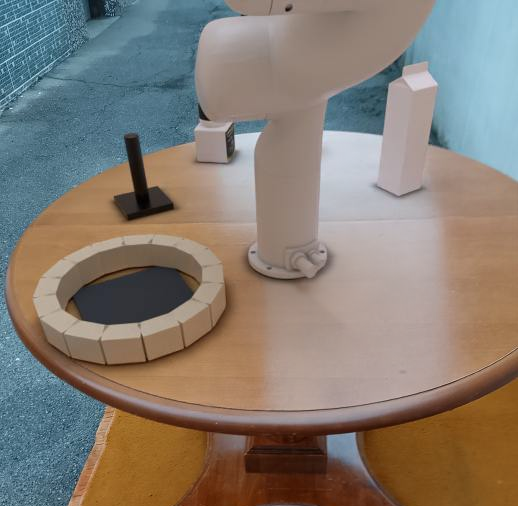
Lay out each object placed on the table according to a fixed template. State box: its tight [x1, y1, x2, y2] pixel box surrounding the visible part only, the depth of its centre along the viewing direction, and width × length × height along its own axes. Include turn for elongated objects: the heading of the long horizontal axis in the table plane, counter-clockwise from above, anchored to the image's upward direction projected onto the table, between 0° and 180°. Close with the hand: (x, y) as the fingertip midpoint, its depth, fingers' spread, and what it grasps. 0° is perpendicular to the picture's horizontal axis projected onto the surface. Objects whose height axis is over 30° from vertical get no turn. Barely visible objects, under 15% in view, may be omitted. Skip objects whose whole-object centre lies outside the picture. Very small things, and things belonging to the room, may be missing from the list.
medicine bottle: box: [193, 103, 236, 164], centre depth 116 cm, size 7×7×12 cm
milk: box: [376, 61, 439, 197], centre depth 98 cm, size 6×6×22 cm
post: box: [113, 132, 175, 221], centre depth 98 cm, size 9×9×13 cm
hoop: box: [32, 233, 227, 365], centre depth 76 cm, size 26×26×4 cm
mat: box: [72, 266, 195, 325], centre depth 78 cm, size 16×16×1 cm
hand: (266, 39), depth 80 cm, fingers open, 9 cm apart
